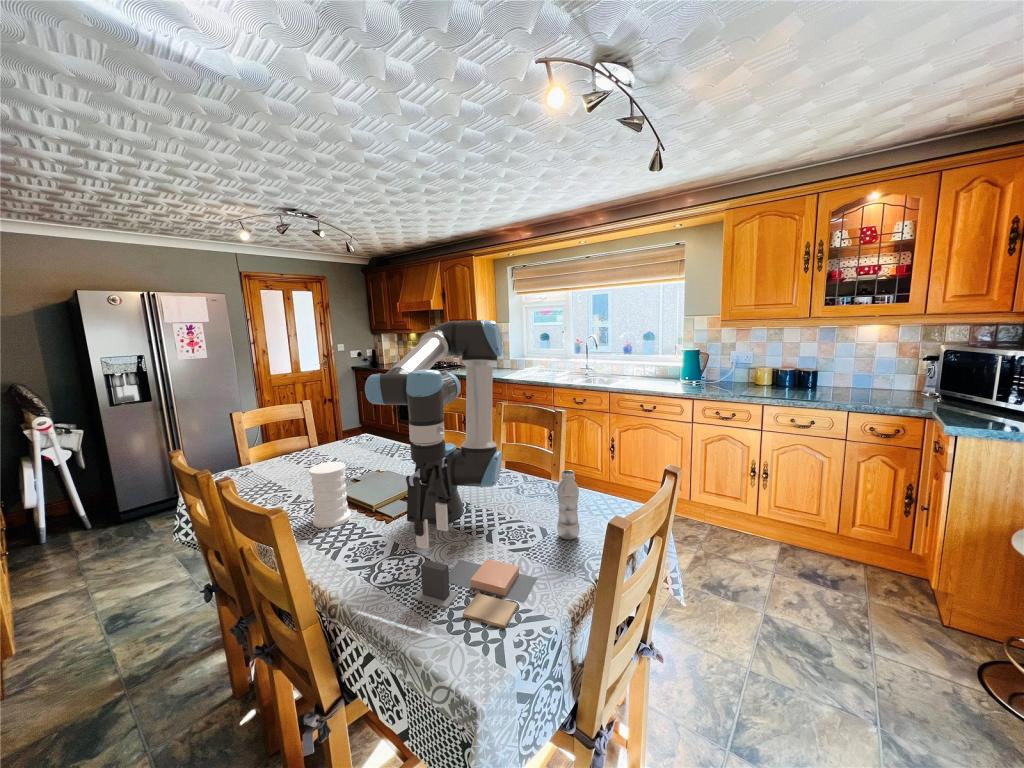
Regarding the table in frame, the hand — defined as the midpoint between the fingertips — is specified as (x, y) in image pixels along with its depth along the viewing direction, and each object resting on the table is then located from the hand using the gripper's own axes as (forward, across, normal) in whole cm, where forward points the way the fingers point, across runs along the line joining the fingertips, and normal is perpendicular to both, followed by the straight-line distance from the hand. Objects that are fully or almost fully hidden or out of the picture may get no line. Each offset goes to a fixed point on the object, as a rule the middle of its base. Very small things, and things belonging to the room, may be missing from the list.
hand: (433, 537), depth 91 cm
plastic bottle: (+15, +37, -22) cm, 46 cm away
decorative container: (+15, +21, +54) cm, 60 cm away
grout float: (+15, 0, 0) cm, 15 cm away
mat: (+15, +10, -9) cm, 20 cm away
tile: (+13, +10, -6) cm, 18 cm away
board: (+15, 0, -14) cm, 21 cm away
